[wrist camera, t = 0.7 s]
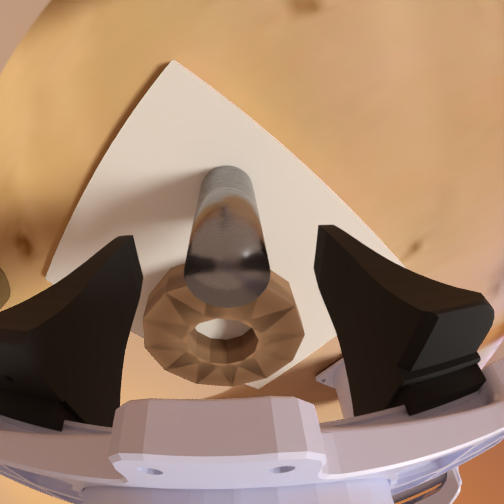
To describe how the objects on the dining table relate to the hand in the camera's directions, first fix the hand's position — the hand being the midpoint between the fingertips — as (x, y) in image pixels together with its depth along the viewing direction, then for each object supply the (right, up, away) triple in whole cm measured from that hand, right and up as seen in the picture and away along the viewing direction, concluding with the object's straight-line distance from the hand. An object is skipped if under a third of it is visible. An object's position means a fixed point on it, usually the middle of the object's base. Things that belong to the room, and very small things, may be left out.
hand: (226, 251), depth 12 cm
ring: (-1, -5, +11) cm, 12 cm away
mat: (-1, -1, +10) cm, 10 cm away
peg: (0, +4, +6) cm, 7 cm away
